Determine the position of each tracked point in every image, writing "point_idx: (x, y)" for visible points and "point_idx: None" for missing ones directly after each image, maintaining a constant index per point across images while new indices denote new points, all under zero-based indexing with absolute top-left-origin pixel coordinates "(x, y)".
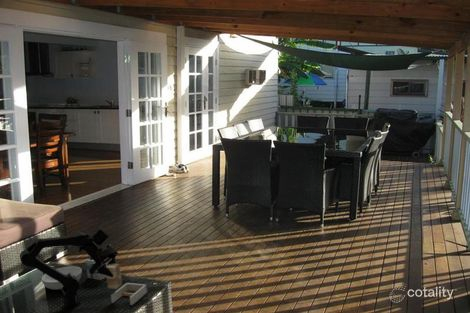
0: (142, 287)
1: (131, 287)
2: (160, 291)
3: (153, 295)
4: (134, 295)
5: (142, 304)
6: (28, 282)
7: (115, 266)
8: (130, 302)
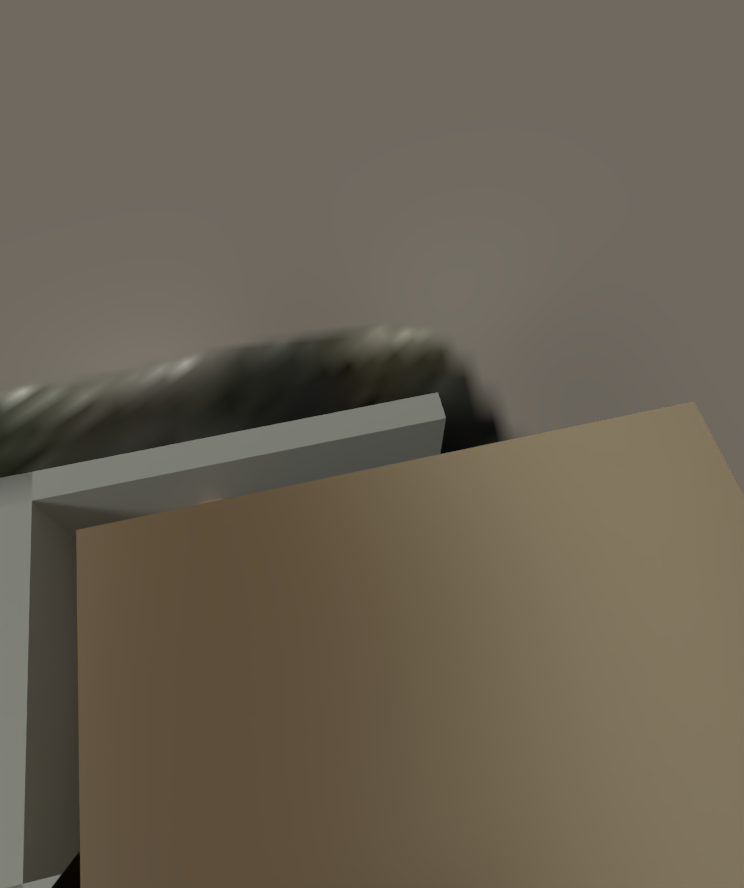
0: (106, 469)
1: (58, 783)
2: (7, 390)
3: (125, 395)
4: (354, 415)
5: (358, 360)
6: None
7: (473, 474)
8: (438, 450)
